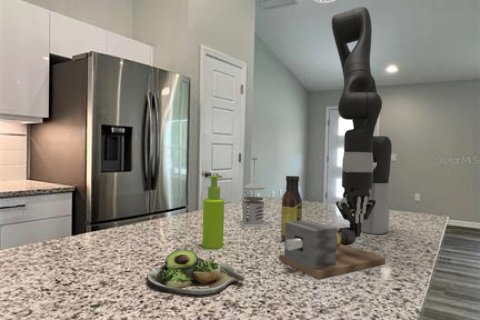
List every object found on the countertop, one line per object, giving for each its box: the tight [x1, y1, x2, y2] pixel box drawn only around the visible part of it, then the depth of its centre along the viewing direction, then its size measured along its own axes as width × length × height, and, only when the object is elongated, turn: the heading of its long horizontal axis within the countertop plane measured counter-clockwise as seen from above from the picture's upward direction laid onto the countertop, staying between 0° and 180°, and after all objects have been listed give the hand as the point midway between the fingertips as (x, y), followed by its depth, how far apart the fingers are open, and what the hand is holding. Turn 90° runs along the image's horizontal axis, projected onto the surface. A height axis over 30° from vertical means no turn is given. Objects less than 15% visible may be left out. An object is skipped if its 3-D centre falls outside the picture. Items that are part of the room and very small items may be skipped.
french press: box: [239, 156, 267, 228], centre depth 126 cm, size 10×12×25 cm
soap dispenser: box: [201, 174, 225, 250], centre depth 97 cm, size 6×7×20 cm
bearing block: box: [278, 219, 386, 280], centre depth 85 cm, size 22×14×10 cm, turn 121°
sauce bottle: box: [280, 175, 303, 242], centre depth 105 cm, size 7×6×20 cm
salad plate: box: [146, 249, 246, 296], centre depth 72 cm, size 19×18×5 cm
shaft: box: [283, 226, 357, 251], centre depth 83 cm, size 20×5×5 cm, turn 121°
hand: (355, 236), depth 89 cm, fingers closed
